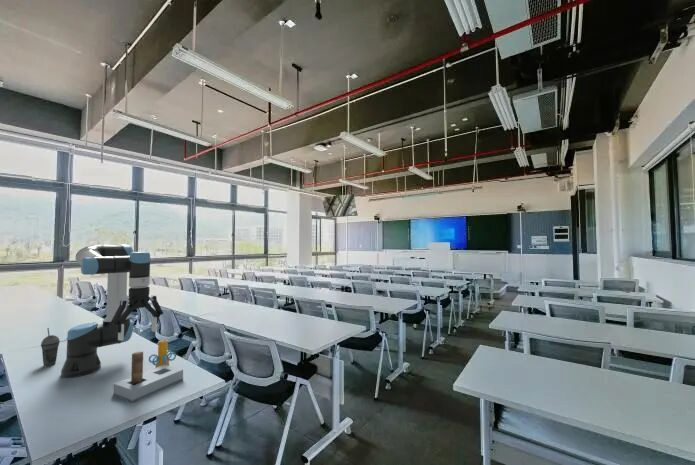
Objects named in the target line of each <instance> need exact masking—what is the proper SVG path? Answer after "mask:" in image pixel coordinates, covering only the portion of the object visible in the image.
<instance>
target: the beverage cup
mask: <svg viewBox="0 0 695 465" xmlns="http://www.w3.org/2000/svg"><path fill="white" fill-rule="evenodd" d="M60 342H61V341H60V338H59V337H58V336H57V335H54V334H53V335H52V334H50V328H49V327H47V336H46V337H44V338H43V339H42V341H41V343H40V346H41V347H40V348H41V350H42V351H41V352H42V364H43V367H45V366H47V367H51V365H52V366H54V364H55V365H56V362H57V358H58V350H59V346H60Z"/></svg>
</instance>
